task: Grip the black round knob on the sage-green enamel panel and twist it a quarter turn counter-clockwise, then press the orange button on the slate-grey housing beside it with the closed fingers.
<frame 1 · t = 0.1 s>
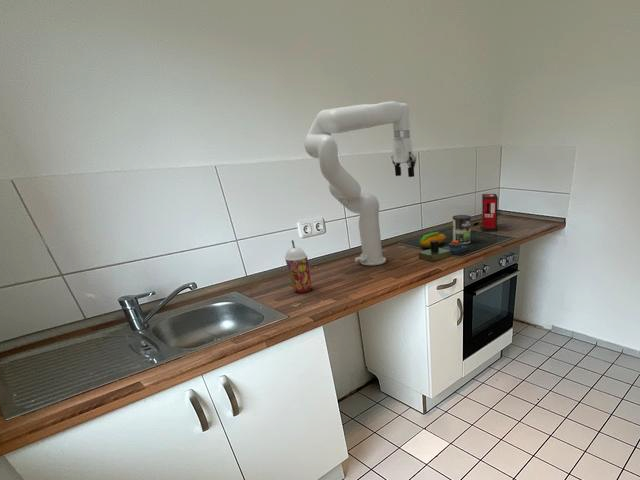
hand: (404, 176, 186), 37 cm above the counter, tool pointing down, fingers open, 9 cm apart
panel: (435, 257, 195), on the counter
button: (455, 242, 202), point 4 cm above the counter, slide at 0.1 cm
button box: (455, 251, 204), on the counter
knob: (434, 245, 192), point 6 cm above the counter, hinge at 0.0°
smoothie: (303, 290, 157), on the counter
cleaning product box: (488, 228, 251), on the counter
coffee can: (461, 242, 221), on the counter
corn: (433, 246, 215), on the counter
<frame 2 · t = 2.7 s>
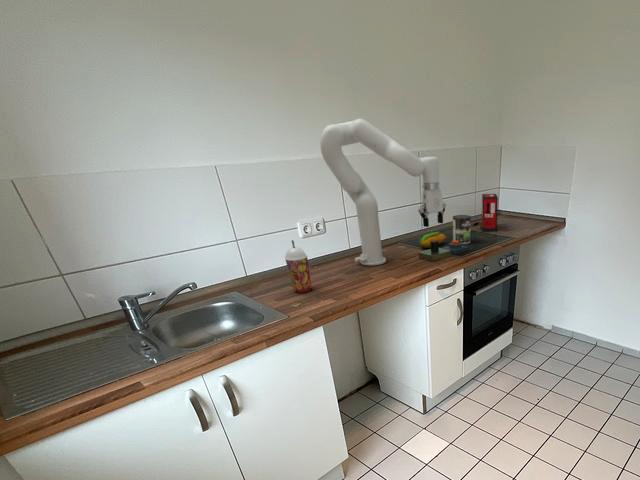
hand: (433, 224, 188), 16 cm above the counter, tool pointing down, fingers open, 9 cm apart
nothing on the counter moved.
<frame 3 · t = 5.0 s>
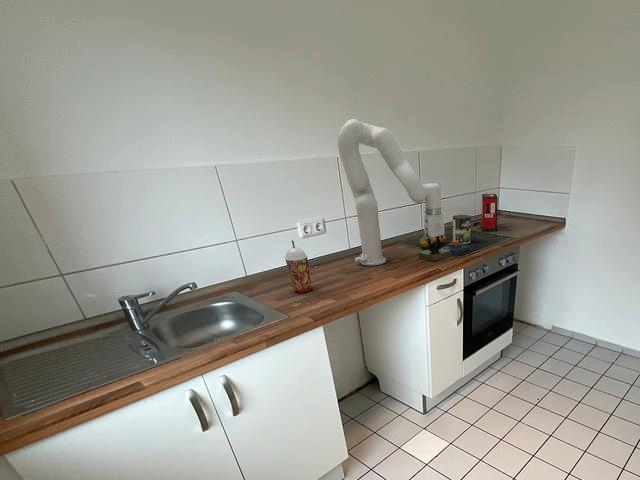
hand: (434, 249, 193), 4 cm above the counter, tool pointing down, fingers closed on knob, 4 cm apart
knob: (434, 245, 192), point 6 cm above the counter, hinge at 0.2°, touching gripper
everything else where it was.
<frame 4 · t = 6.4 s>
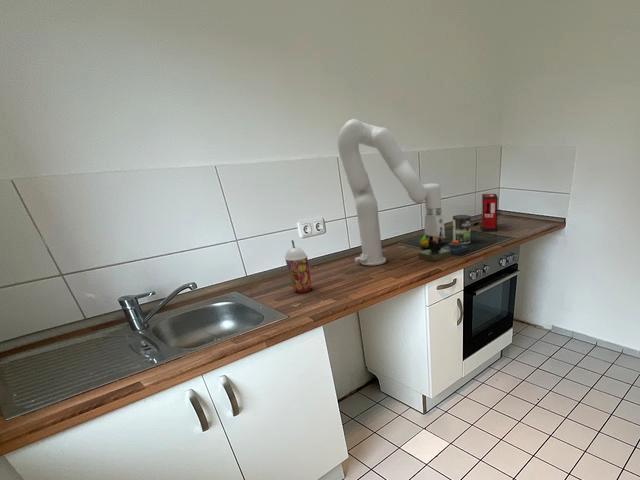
hand: (434, 249, 193), 4 cm above the counter, tool pointing down, fingers closed on knob, 4 cm apart
knob: (434, 245, 192), point 6 cm above the counter, hinge at 90.5°, touching gripper
everything else where it was.
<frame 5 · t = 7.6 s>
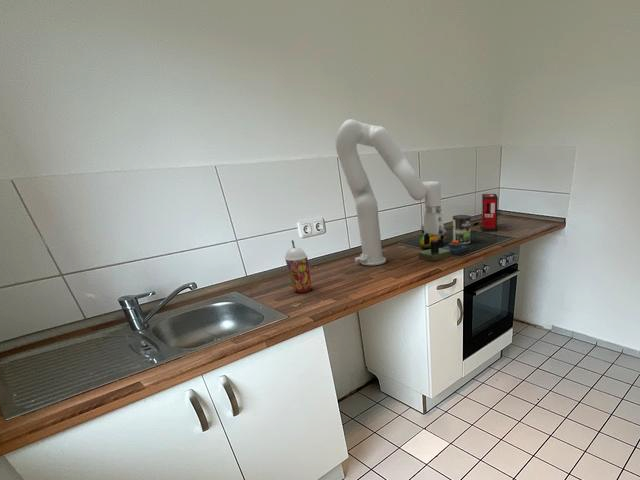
hand: (433, 245, 192), 6 cm above the counter, tool pointing down, fingers open, 9 cm apart
knob: (434, 245, 192), point 6 cm above the counter, hinge at 89.7°
everything else where it was.
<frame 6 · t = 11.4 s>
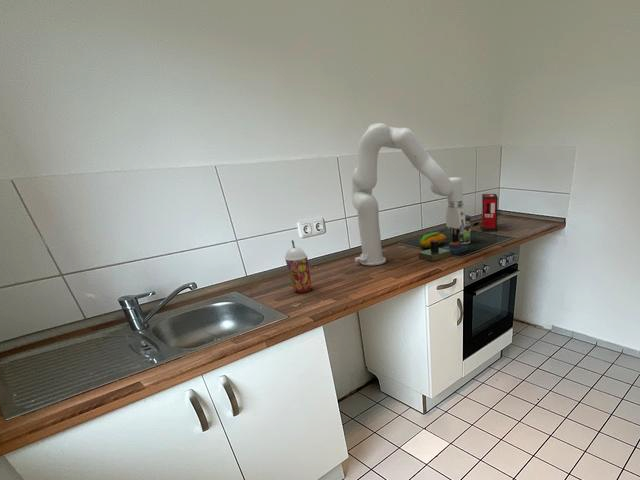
hand: (455, 241, 202), 5 cm above the counter, tool pointing down, fingers closed
button: (455, 243, 202), point 4 cm above the counter, slide at -0.3 cm, touching gripper
everything else where it was.
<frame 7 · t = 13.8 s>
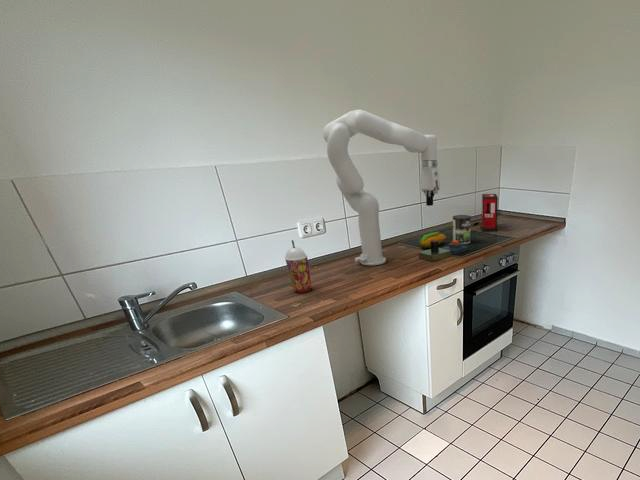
hand: (429, 205, 193), 23 cm above the counter, tool pointing down, fingers closed
button: (455, 242, 202), point 4 cm above the counter, slide at 0.1 cm
everything else where it was.
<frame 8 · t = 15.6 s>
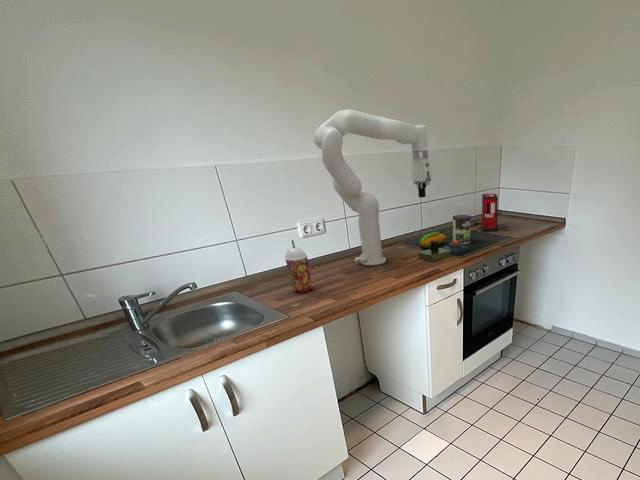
hand: (422, 197, 191), 27 cm above the counter, tool pointing down, fingers closed
nothing on the counter moved.
at the end: knob at +90° (first picture: +0°); button pushed in 1.1 cm at the most during the clip, back to where it started at the end; button slide at 0.1 cm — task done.
